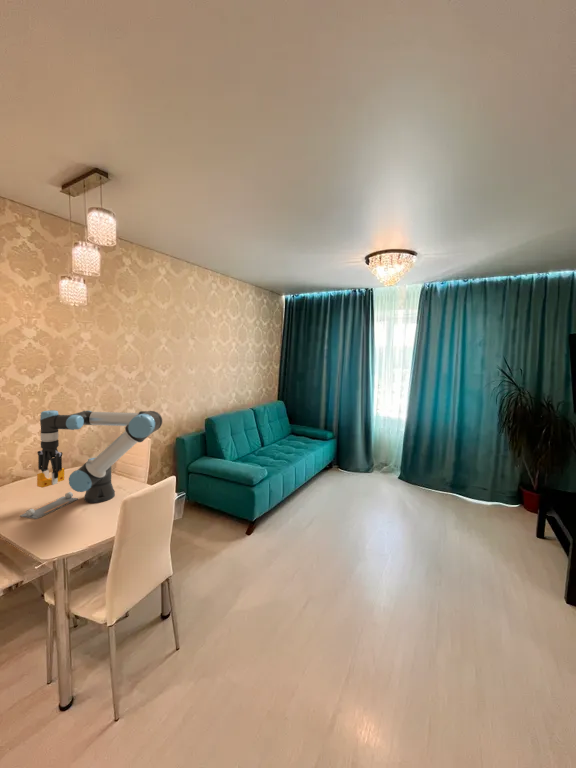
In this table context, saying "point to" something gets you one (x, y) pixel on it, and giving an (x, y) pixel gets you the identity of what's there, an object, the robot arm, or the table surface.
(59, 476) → the pipe clamp
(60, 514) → the table surface
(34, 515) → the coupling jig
